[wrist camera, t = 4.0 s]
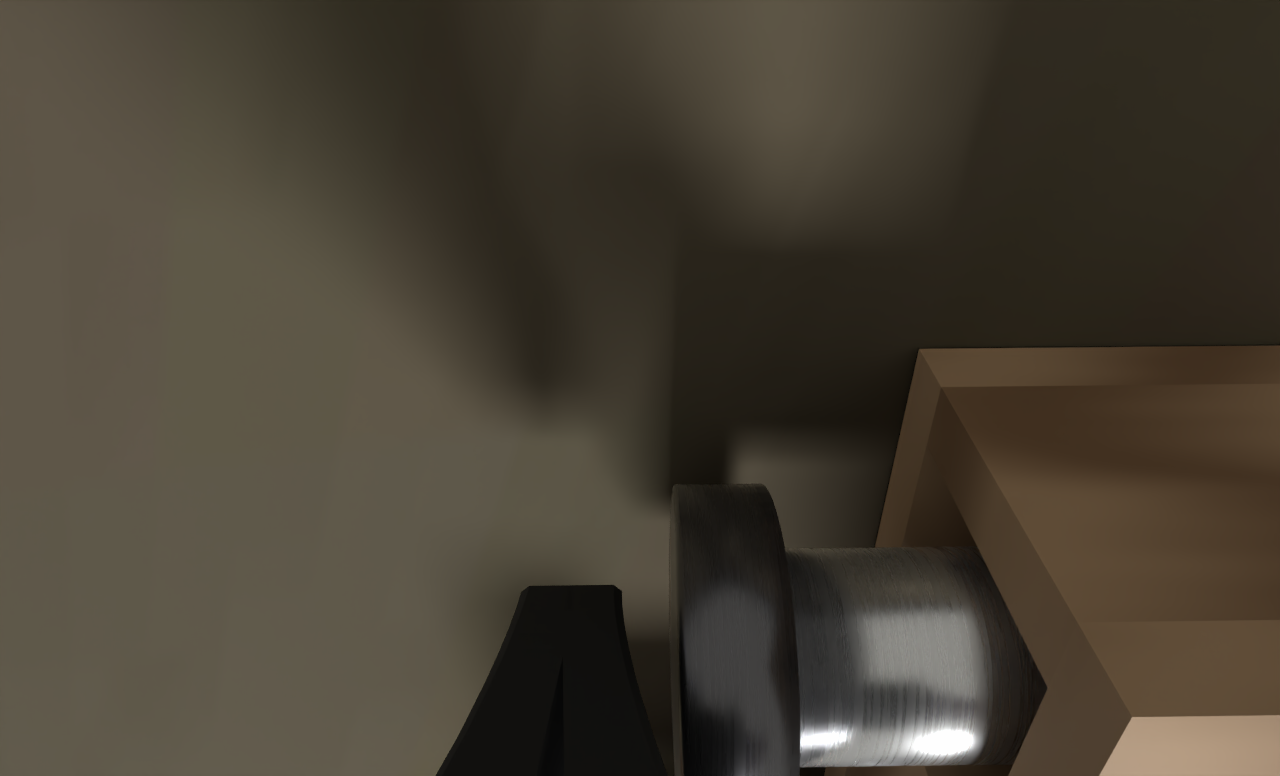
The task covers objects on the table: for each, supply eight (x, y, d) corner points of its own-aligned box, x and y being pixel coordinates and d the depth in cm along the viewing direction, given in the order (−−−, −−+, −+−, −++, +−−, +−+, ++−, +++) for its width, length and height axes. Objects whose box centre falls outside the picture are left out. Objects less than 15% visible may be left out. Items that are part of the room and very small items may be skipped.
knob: (667, 630, 14) (682, 920, 10) (672, 417, 12) (695, 699, 8) (1053, 625, 14) (1209, 912, 10) (1143, 413, 12) (1395, 691, 8)
